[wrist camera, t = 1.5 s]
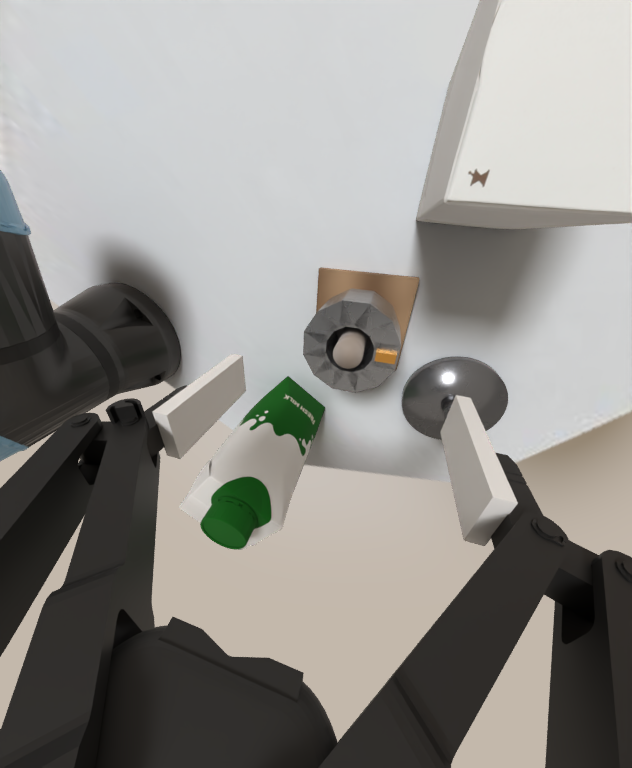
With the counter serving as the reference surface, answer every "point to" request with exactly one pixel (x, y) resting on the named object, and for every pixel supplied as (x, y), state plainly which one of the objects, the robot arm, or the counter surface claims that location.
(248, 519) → the milk carton
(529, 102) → the supplement box
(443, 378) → the disc
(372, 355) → the clutch ring
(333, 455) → the counter surface
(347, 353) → the stand
